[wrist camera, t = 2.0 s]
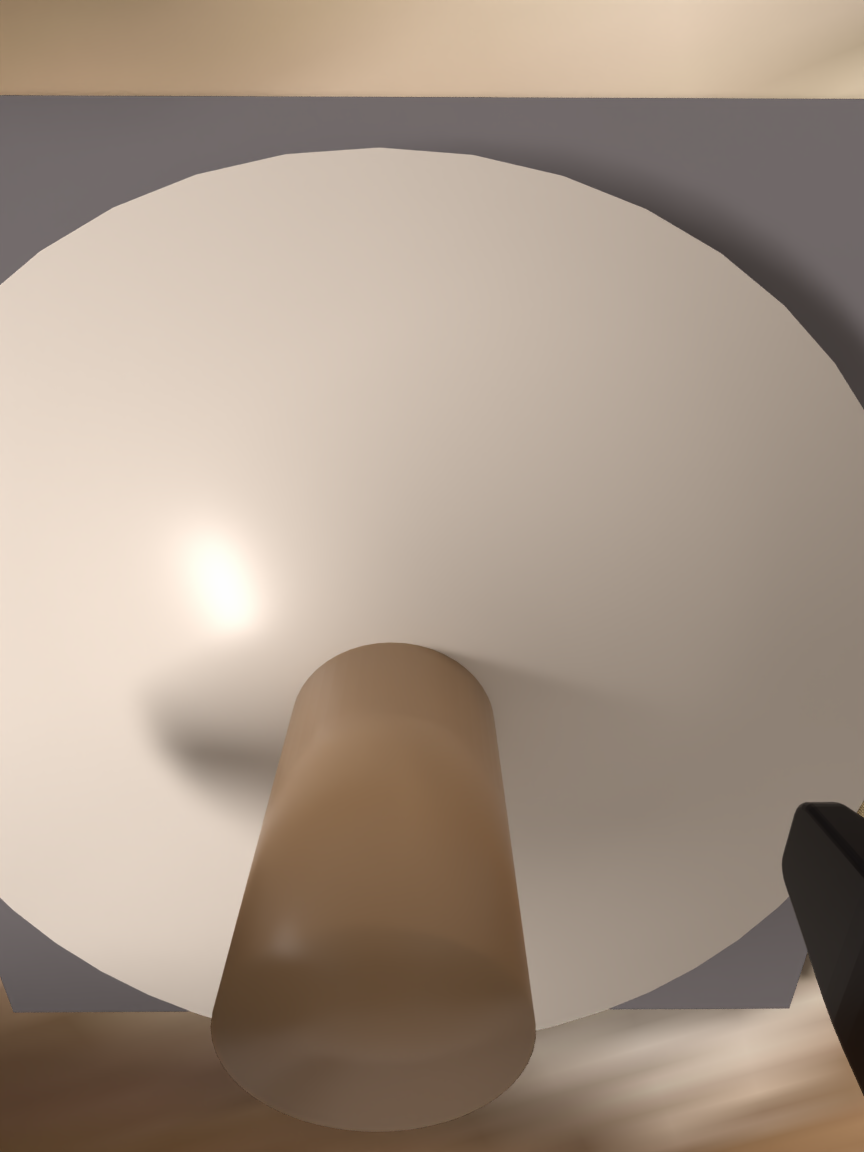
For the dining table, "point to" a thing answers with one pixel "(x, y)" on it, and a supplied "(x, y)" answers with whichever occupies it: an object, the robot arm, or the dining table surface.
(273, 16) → the dining table surface
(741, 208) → the mat
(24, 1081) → the dining table surface
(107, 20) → the dining table surface
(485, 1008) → the lid
